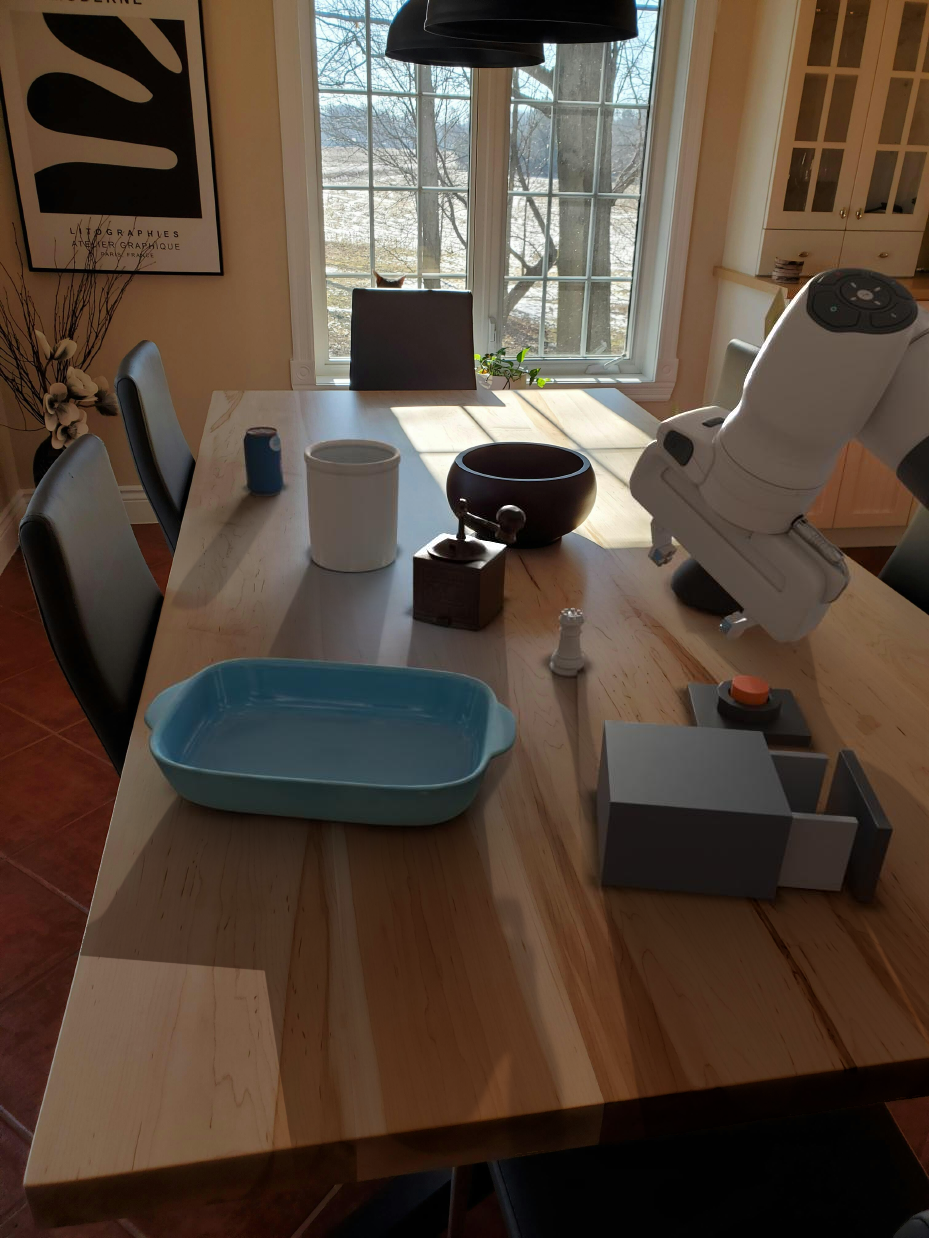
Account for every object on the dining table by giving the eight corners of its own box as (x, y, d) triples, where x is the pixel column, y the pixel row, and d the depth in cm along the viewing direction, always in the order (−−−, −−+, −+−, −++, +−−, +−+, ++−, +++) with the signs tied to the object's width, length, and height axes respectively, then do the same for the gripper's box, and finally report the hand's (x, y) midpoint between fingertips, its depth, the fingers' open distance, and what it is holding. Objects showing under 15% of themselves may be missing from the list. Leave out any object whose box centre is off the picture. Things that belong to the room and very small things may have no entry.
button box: (787, 705, 106) (793, 676, 105) (808, 753, 98) (815, 722, 96) (684, 698, 107) (689, 669, 106) (695, 744, 98) (700, 713, 97)
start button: (763, 689, 103) (765, 676, 102) (770, 708, 99) (773, 694, 98) (727, 687, 103) (729, 674, 102) (733, 705, 99) (735, 691, 99)
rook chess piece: (560, 681, 110) (565, 622, 107) (543, 664, 114) (547, 607, 111) (591, 674, 112) (597, 617, 109) (573, 658, 116) (578, 602, 112)
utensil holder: (386, 536, 154) (385, 435, 146) (413, 568, 141) (413, 459, 134) (301, 545, 149) (295, 441, 141) (320, 579, 137) (315, 467, 129)
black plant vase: (748, 568, 145) (801, 270, 125) (839, 628, 126) (919, 287, 106) (643, 580, 139) (681, 270, 120) (722, 644, 120) (783, 288, 101)
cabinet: (745, 814, 88) (762, 731, 84) (772, 907, 76) (793, 816, 72) (595, 802, 89) (604, 719, 85) (600, 891, 78) (610, 801, 73)
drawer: (848, 818, 86) (866, 750, 83) (886, 904, 76) (908, 830, 72) (692, 806, 87) (704, 738, 84) (709, 888, 77) (723, 815, 74)
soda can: (291, 492, 174) (287, 430, 169) (261, 499, 170) (256, 437, 164) (270, 484, 178) (265, 424, 173) (240, 491, 174) (235, 430, 169)
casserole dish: (516, 723, 101) (519, 668, 98) (509, 856, 81) (512, 792, 78) (196, 703, 104) (190, 648, 101) (113, 827, 84) (101, 763, 80)
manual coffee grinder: (407, 620, 125) (407, 496, 117) (439, 591, 134) (441, 474, 126) (513, 642, 119) (520, 513, 112) (538, 610, 129) (547, 489, 121)
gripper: (885, 556, 66) (799, 667, 77) (700, 394, 76) (645, 513, 86) (833, 583, 63) (750, 694, 74) (646, 410, 73) (596, 531, 83)
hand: (692, 595), depth 80 cm, fingers open, 8 cm apart
